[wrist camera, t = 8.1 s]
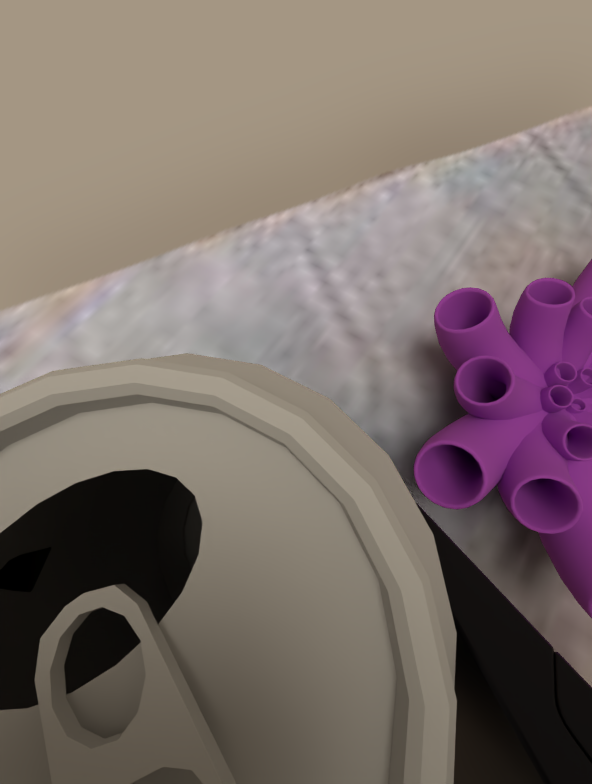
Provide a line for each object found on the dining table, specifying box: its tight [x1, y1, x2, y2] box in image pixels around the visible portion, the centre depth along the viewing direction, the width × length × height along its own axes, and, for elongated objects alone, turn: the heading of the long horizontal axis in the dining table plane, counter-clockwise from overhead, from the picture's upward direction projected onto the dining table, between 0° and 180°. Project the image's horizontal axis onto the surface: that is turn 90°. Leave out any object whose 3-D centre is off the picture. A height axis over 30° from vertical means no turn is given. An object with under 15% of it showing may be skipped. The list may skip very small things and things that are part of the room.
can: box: [0, 353, 457, 784], centre depth 9 cm, size 8×8×12 cm
